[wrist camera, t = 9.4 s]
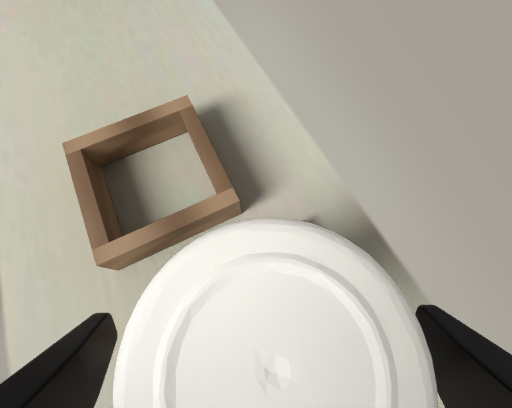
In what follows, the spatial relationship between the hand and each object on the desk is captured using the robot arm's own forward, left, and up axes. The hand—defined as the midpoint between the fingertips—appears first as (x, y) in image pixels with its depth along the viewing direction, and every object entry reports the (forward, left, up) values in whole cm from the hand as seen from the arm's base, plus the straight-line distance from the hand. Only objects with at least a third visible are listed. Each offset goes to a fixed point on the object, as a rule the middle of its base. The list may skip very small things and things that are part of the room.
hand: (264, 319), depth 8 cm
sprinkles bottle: (0, 0, -9) cm, 9 cm away
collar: (-3, +11, -10) cm, 15 cm away
